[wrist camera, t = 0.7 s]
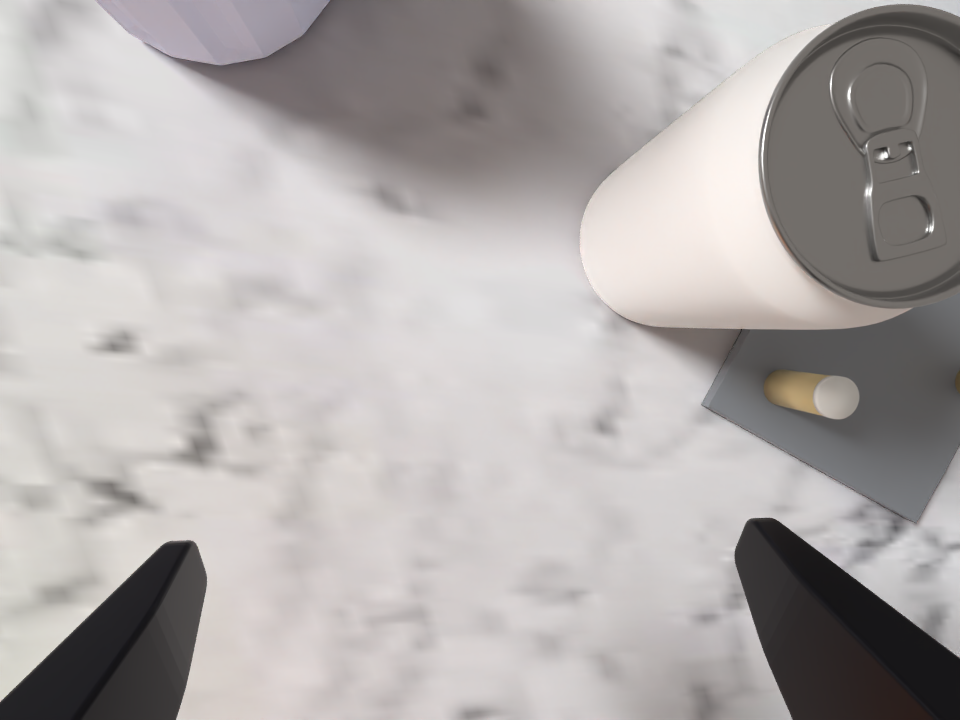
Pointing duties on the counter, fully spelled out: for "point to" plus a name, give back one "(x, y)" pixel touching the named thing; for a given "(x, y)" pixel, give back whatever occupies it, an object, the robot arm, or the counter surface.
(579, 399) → the counter surface
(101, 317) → the counter surface
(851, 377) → the peg board
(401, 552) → the counter surface
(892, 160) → the can
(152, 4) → the soap bottle
